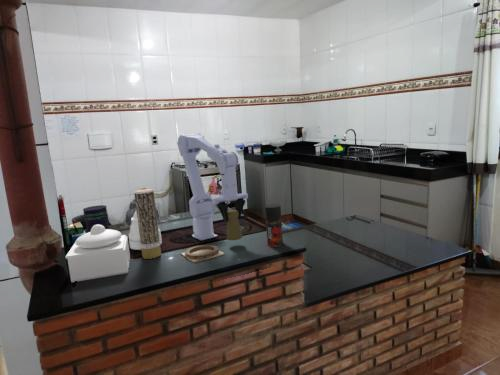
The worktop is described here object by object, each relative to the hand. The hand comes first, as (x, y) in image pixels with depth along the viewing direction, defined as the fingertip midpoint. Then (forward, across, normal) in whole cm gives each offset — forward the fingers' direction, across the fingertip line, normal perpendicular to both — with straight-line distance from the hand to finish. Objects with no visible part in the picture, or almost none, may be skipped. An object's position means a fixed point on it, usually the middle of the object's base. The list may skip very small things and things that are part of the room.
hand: (232, 219), depth 139 cm
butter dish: (+11, -46, +13) cm, 49 cm away
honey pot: (+11, -26, +29) cm, 40 cm away
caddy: (+10, -14, 0) cm, 17 cm away
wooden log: (+11, -29, +12) cm, 33 cm away
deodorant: (+11, +12, -10) cm, 19 cm away
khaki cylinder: (+7, 0, 0) cm, 7 cm away
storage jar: (+11, -40, +53) cm, 67 cm away
